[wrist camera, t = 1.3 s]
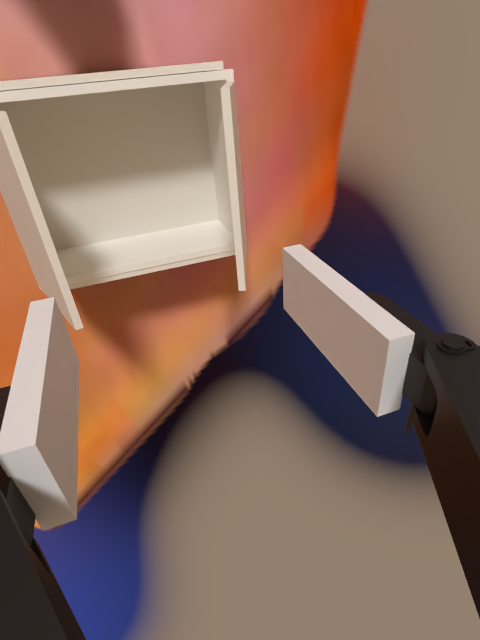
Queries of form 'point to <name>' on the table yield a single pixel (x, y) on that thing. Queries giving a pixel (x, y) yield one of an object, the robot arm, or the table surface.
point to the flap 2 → (235, 178)
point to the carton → (127, 167)
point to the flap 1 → (32, 224)
